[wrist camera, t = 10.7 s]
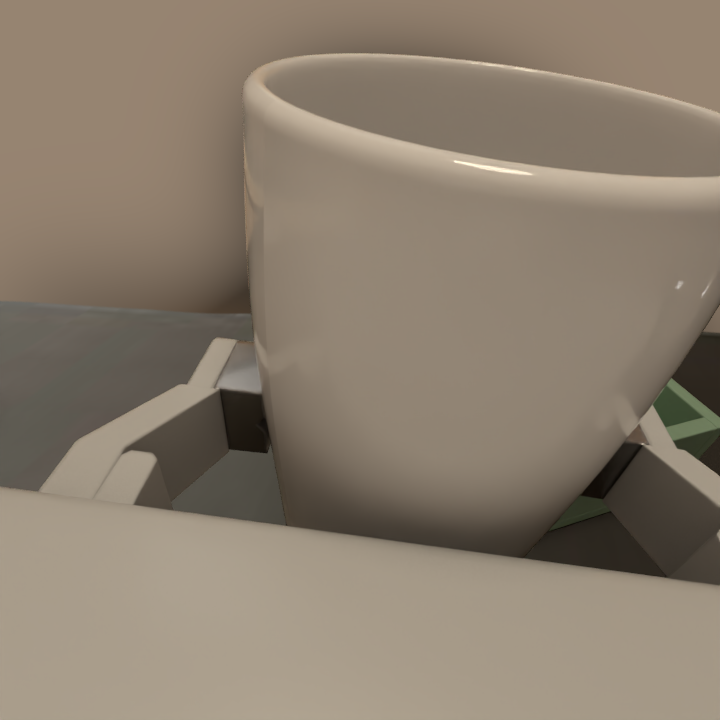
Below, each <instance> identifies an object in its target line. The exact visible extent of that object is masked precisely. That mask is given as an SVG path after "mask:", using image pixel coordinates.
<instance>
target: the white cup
mask: <svg viewBox="0 0 720 720" xmlns="http://www.w3.org/2000/svg"><path fill="white" fill-rule="evenodd" d="M242 101H243V122H244V191H245V222H246V243H247V265H248V280H249V295H250V307H251V318H252V329H253V338H254V347H255V355H256V362H257V369H258V376H259V383H260V389H261V394H262V400H263V406H264V411H265V417H266V422H267V427H268V433H269V438H270V443H271V448H272V453H273V459H274V464H275V469H276V474H277V479H278V484H279V490H280V495H281V500H282V505H283V511H284V516H285V521H286V526H291V527H298V528H306V529H313V530H320V531H327V532H335V533H342V534H349V535H357V536H364V537H371V538H378V539H386V540H393V541H400V542H407V543H415V544H422V545H429V546H436V547H444V548H451V549H458V550H465V551H473V552H480V553H487V554H494V555H502V556H509V557H516V558H524V557H525V556H526V555H527V554H528V553H529V552H530V551H531V549H532V548H533V547H534V546H535V545H536V544H537V543H538V542H539V541H540V540H541V538H542V537H543V536H544V535H545V534H546V533H547V532H548V531H549V530H550V529H551V528H552V526H553V525H554V524H555V523H556V522H557V521H558V520H559V519H560V518H561V517H562V515H563V514H564V513H565V512H566V511H567V510H568V509H569V508H570V507H571V506H572V504H573V503H574V502H575V501H576V500H577V499H578V498H579V496H580V495H581V494H582V493H583V492H584V491H585V490H586V489H587V487H588V486H589V485H590V484H591V483H592V482H593V481H594V479H595V478H596V477H597V476H598V475H599V473H600V472H601V471H602V470H603V469H604V467H605V466H606V465H607V464H608V463H609V461H610V460H611V459H612V458H613V457H614V455H615V454H616V453H617V452H618V450H619V449H620V448H621V446H622V445H623V444H624V442H625V441H626V440H627V439H628V437H629V436H630V435H631V433H632V432H633V431H634V430H635V428H636V427H637V426H638V424H639V423H640V421H641V420H642V419H643V417H644V416H645V415H646V413H647V412H648V410H649V409H650V408H651V406H652V405H653V403H654V402H655V401H656V399H657V398H658V397H659V395H660V394H661V392H662V391H663V389H664V388H665V386H666V385H667V384H668V382H669V381H670V379H671V378H672V376H673V375H674V373H675V372H676V370H677V369H678V368H679V366H680V365H681V363H682V362H683V360H684V359H685V357H686V356H687V354H688V353H689V351H690V350H691V348H692V347H693V345H694V344H695V342H696V341H697V339H698V338H699V336H700V335H701V333H702V332H703V330H704V329H705V327H706V325H707V324H708V322H709V321H710V319H711V318H712V316H713V314H714V313H715V311H716V310H717V308H718V307H719V305H720V113H719V112H716V111H713V110H710V109H707V108H704V107H701V106H698V105H694V104H691V103H688V102H684V101H681V100H677V99H674V98H670V97H666V96H662V95H659V94H654V93H651V92H647V91H643V90H638V89H634V88H630V87H625V86H620V85H616V84H612V83H607V82H602V81H597V80H592V79H587V78H581V77H577V76H571V75H566V74H560V73H554V72H548V71H542V70H536V69H529V68H522V67H516V66H509V65H501V64H494V63H486V62H477V61H469V60H459V59H450V58H439V57H427V56H414V55H396V54H367V53H341V54H317V55H306V56H297V57H290V58H285V59H280V60H276V61H273V62H270V63H267V64H264V65H262V66H260V67H259V68H257V69H255V70H254V71H253V72H252V73H251V74H250V75H249V76H248V77H247V79H246V81H245V83H244V86H243V90H242Z"/></svg>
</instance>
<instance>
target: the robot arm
mask: <svg viewBox="0 0 720 720" xmlns="http://www.w3.org/2000/svg"><path fill="white" fill-rule="evenodd" d="M270 444H271V443H270V438H269V433H268V427H267V422H266V417H265V411H264V406H263V400H262V394H261V389H260V383H259V376H258V369H257V362H256V355H255V347H254V342H248V341H241V340H239V341H238V340H232V339H226V338H219V337H217V338H216V339H214V340H213V341H212V342H211V344H210V346H209V347H208V349H207V351H206V353H205V354H204V356H203V358H202V360H201V361H200V363H199V365H198V366H197V368H196V370H195V372H194V373H193V375H192V377H191V379H190V380H189V382H188V384H187V385H184V384H179V385H178V386H176V387H174V388H172V389H170V390H168V391H167V392H165V393H163V394H161V395H159V396H157V397H156V398H154V399H152V400H150V401H148V402H146V403H144V404H143V405H141V406H139V407H137V408H135V409H133V410H132V411H130V412H128V413H126V414H124V415H122V416H121V417H119V418H117V419H115V420H113V421H111V422H110V423H108V424H106V425H104V426H102V427H100V428H98V429H97V430H95V431H93V432H91V433H89V434H87V435H86V436H84V437H82V438H80V439H78V440H76V442H75V443H74V444H73V446H72V447H71V448H70V450H69V451H68V452H67V454H66V455H65V456H64V458H63V459H62V460H61V462H60V463H59V464H58V466H57V467H56V468H55V470H54V471H53V472H52V474H51V475H50V476H49V478H48V479H47V480H46V481H45V483H44V484H43V485H42V487H41V488H40V489H39V491H38V492H36V491H28V490H21V489H14V488H7V487H0V720H720V476H719V475H717V474H716V473H715V472H713V471H712V470H711V469H709V468H708V467H707V466H705V465H704V464H703V463H701V462H700V461H699V460H697V459H696V458H695V457H693V456H692V455H691V454H689V453H688V452H687V451H685V450H681V449H677V448H676V446H675V444H674V442H673V440H672V439H671V437H670V435H669V433H668V431H667V430H666V428H665V426H664V424H663V422H662V421H661V419H660V417H659V415H658V413H657V412H656V410H655V408H654V406H653V405H652V406H651V408H650V409H649V410H648V412H647V413H646V415H645V416H644V417H643V419H642V420H641V421H640V423H639V424H638V426H637V427H636V428H635V430H634V431H633V432H632V433H631V435H630V436H629V437H628V439H627V440H626V441H625V442H624V444H623V445H622V446H621V448H620V449H619V450H618V452H617V453H616V454H615V455H614V457H613V458H612V459H611V460H610V461H609V463H608V464H607V465H606V466H605V467H604V469H603V470H602V471H601V472H600V473H599V475H598V476H597V477H596V478H595V479H594V481H593V482H592V483H591V484H590V485H589V486H588V487H587V489H586V490H585V491H584V492H583V493H582V494H581V495H580V496H585V497H592V498H598V499H603V500H602V501H603V503H604V504H605V505H606V506H607V507H608V508H609V510H610V511H611V512H612V513H613V514H614V515H615V517H616V518H617V519H618V520H619V521H620V522H621V524H622V525H623V526H624V527H625V528H626V529H627V531H628V532H629V533H630V534H631V535H632V536H633V538H634V539H635V540H636V541H637V542H638V543H639V545H640V546H641V547H642V548H643V549H644V550H645V552H646V553H647V554H648V555H649V556H650V557H651V559H652V560H653V561H654V562H655V563H656V564H657V566H658V567H659V568H660V569H661V570H662V571H663V573H664V574H665V575H666V576H667V578H663V577H656V576H648V575H641V574H634V573H627V572H619V571H612V570H605V569H597V568H590V567H582V566H575V565H568V564H560V563H553V562H546V561H538V560H531V559H524V558H516V557H509V556H502V555H494V554H487V553H480V552H473V551H465V550H458V549H451V548H444V547H436V546H429V545H422V544H415V543H407V542H400V541H393V540H386V539H378V538H371V537H364V536H357V535H349V534H342V533H335V532H327V531H320V530H313V529H306V528H298V527H291V526H284V525H276V524H269V523H262V522H255V521H247V520H240V519H233V518H225V517H218V516H211V515H204V514H196V513H189V512H182V511H174V510H173V508H172V505H171V501H172V500H174V499H175V498H176V497H177V496H178V495H179V494H180V493H182V492H183V491H184V490H185V489H186V488H187V487H189V486H190V485H191V484H192V483H193V482H194V481H196V480H197V479H198V478H199V477H200V476H201V475H202V474H204V473H205V472H206V471H207V470H208V469H209V468H211V467H212V466H213V465H214V464H215V463H216V462H217V461H219V460H220V459H221V458H222V457H223V456H224V455H226V454H227V453H228V452H229V449H231V450H240V451H250V452H259V453H268V450H269V447H270Z"/></svg>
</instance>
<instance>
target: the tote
mask: <svg viewBox="0 0 720 720" xmlns="http://www.w3.org/2000/svg"><path fill="white" fill-rule="evenodd" d="M653 406H654V408H655V410H656V412H657V413H658V415H659V417H660V419H661V421H662V422H663V424H664V426H665V428H666V430H667V431H668V433H669V435H670V437H671V439H672V440H673V442H674V444H675V446H676V448H677V449H681V450H685V451H687V452H688V453H689V454H691V455H692V456H693V457H695V458H696V459H697V460H698V459H699V458H700V457H701V455H702V454H703V453H704V452H705V451H706V450H707V449H708V448H709V447H710V445H711V444H712V443H713V442H714V441H715V440H716V439H717V438H718V436H719V435H720V418H719V417H718V416H717V415H715V414H714V413H713V412H712V411H711V410H709V409H708V408H707V407H706V406H704V405H703V404H702V403H701V402H700V401H698V400H697V399H696V398H695V397H693V396H692V395H691V394H690V393H689V392H687V391H686V390H685V389H684V388H682V387H681V386H680V385H679V384H678V383H676V382H675V381H674V380H673V379H670V381H669V382H668V384H667V385H666V386H665V388H664V389H663V391H662V392H661V394H660V395H659V397H658V398H657V399H656V401H655V402H654V403H653ZM602 500H603V499H598V498H592V497H585V496H579V498H578V499H577V500H576V501H575V502H574V503H573V504H572V506H571V507H570V508H569V509H568V510H567V511H566V512H565V513H564V514H563V515H562V517H561V518H560V519H559V520H558V521H557V522H556V523H555V524H554V525H553V526H552V528H551V529H550V530H549V531H551V530H554V529H557V528H560V527H563V526H566V525H569V524H572V523H576V522H579V521H582V520H585V519H588V518H591V517H594V516H597V515H600V514H603V513H606V512H610V510H609V508H608V507H607V506H606V505H605V504H604V503H603V501H602Z"/></svg>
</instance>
